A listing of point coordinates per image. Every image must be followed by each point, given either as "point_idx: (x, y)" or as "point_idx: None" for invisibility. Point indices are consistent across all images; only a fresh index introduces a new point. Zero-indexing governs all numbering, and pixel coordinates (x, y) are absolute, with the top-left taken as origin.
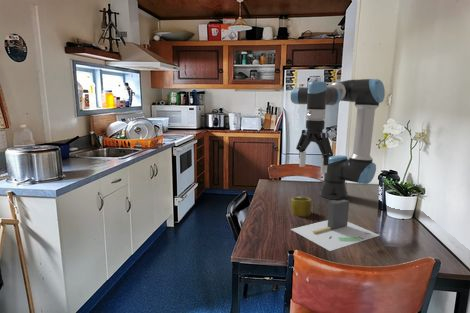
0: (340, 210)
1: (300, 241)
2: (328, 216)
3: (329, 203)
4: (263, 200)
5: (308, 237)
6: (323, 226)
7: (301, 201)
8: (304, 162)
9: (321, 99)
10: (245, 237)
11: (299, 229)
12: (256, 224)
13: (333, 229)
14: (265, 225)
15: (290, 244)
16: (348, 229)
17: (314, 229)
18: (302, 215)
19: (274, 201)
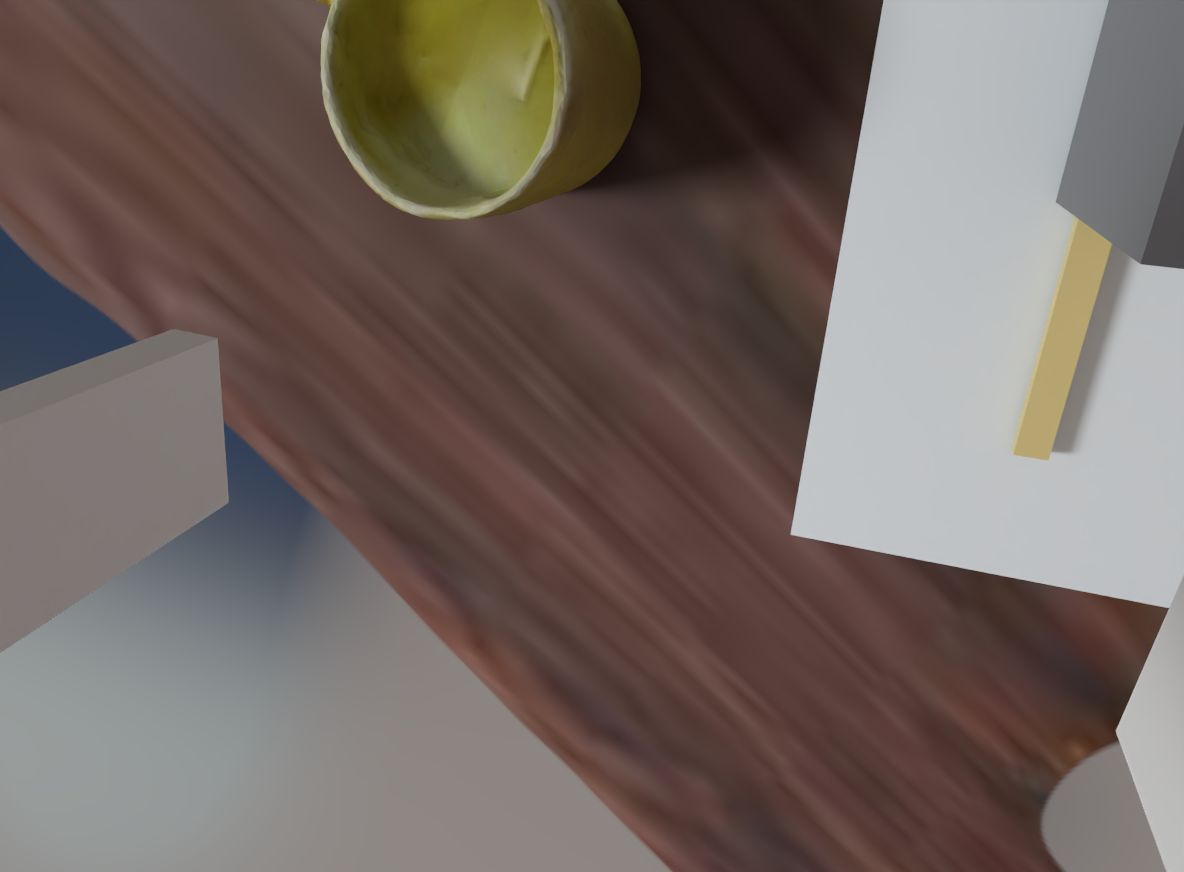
0: None
1: (1006, 619)
2: (1090, 223)
3: (1145, 261)
4: (7, 109)
5: (1046, 559)
6: (984, 195)
7: (530, 184)
8: (131, 413)
9: None
10: (658, 832)
11: (853, 475)
12: (505, 616)
13: None
14: (561, 579)
15: (981, 717)
16: None
17: (963, 355)
18: (610, 157)
19: (63, 16)
